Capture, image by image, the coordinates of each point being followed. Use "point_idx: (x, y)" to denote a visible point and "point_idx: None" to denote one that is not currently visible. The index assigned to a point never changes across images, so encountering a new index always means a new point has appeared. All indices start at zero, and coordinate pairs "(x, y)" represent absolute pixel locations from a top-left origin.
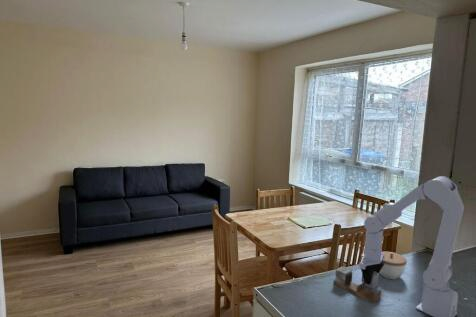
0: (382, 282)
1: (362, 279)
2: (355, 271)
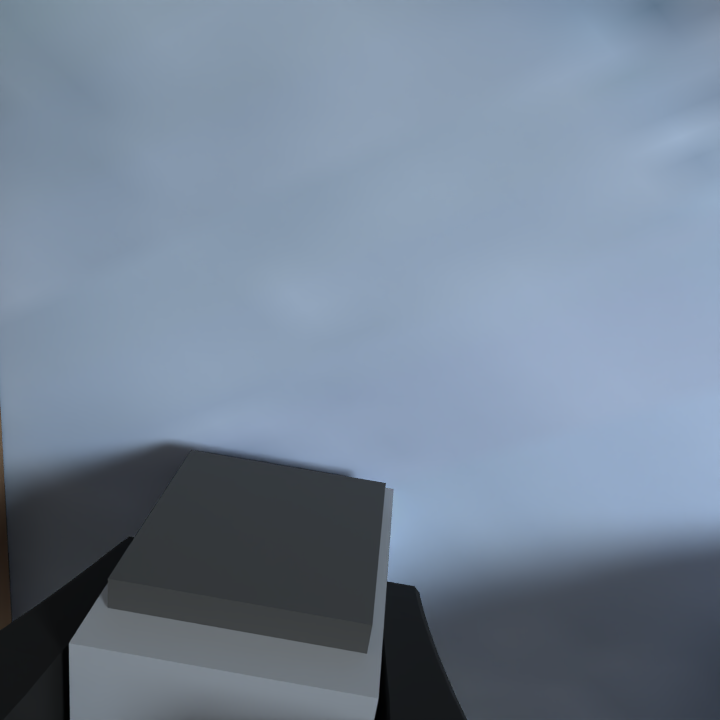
0: (522, 673)
1: (168, 496)
2: (647, 130)
